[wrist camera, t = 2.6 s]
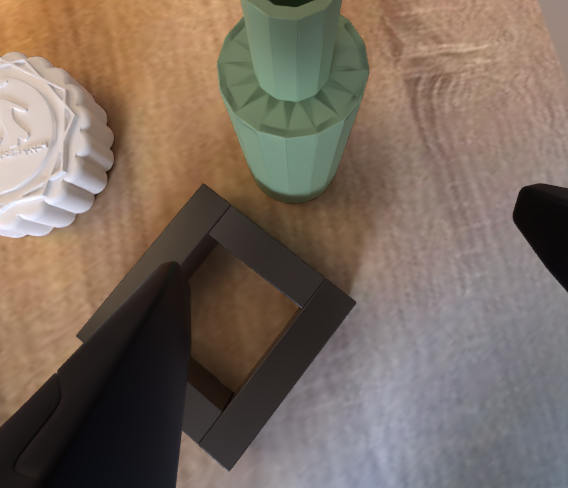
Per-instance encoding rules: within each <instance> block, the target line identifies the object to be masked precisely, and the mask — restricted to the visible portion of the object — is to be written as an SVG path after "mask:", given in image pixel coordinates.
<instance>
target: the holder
mask: <svg viewBox="0 0 568 488" xmlns="http://www.w3.org/2000/svg"><path fill="white" fill-rule="evenodd" d="M218 242H219V243H220V244H221V245H223V246H224V247H225V248H226V249H228V250H229V251H230V252H231V253H233V254H234V255H235V256H236V257H238V258H239V259H240V260H241V261H243V262H244V263H245V264H246V265H248V266H249V267H250V268H251V269H253V270H254V271H255V272H256V273H258V274H259V275H260V276H261V277H263V278H264V279H265V280H266V281H268V282H269V283H270V284H271V285H273V286H274V287H275V288H276V289H278V290H279V291H280V292H282V293H283V294H284V295H285V296H287V297H288V298H289V299H290V300H292V301H293V302H294V303H295V304H297V305H298V306H299V307H300V308H299V309H298V311H297V312H296V313H295V315H294V316H293V317H292V318H291V320H290V321H289V322H288V324H287V325H286V326H285V328H284V329H283V330H282V331H281V333H280V334H279V335H278V337H277V338H276V339H275V341H274V342H273V343H272V344H271V346H270V347H269V348H268V350H267V351H266V352H265V353H264V355H263V356H262V357H261V359H260V360H259V361H258V363H257V364H256V365H255V366H254V368H253V369H252V370H251V372H250V373H249V374H248V376H247V377H246V378H245V379H244V381H243V382H242V383H241V385H240V386H239V387H238V389H237V390H236V391H235V392H234V394H233V392H231V391H230V390H229V389H228V388H227V387H226V386H224V385H223V384H222V383H221V382H220V381H219V380H217V379H216V378H215V377H214V376H213V375H212V374H210V373H209V372H208V371H207V370H206V369H205V368H203V367H202V366H201V365H200V364H199V363H198V362H196V361H195V360H194V359H193V358H192V357H191V356H190V359H189V368H188V378H187V387H186V396H185V406H184V415H183V425H182V431H183V432H184V433H185V434H186V435H188V436H189V437H190V438H191V439H192V440H193V441H194V442H195V443H197V444H198V443H199V446H200V447H201V448H202V449H203V450H204V451H206V452H207V453H208V454H209V455H210V456H211V457H212V458H213V459H214V460H216V461H217V462H218V463H219V464H220V465H221V466H222V467H223V468H225V469H226V470H227V471H228V472H229V471H230V470H231V469H232V468H233V466H234V465H235V464H236V462H237V461H238V460H239V458H240V457H241V456H242V454H243V453H244V452H245V450H246V449H247V448H248V446H249V445H250V444H251V442H252V441H253V440H254V438H255V437H256V436H257V434H258V433H259V432H260V430H261V429H262V428H263V426H264V425H265V424H266V422H267V421H268V420H269V418H270V417H271V416H272V414H273V413H274V412H275V411H276V409H277V408H278V407H279V405H280V404H281V403H282V401H283V400H284V399H285V397H286V396H287V395H288V393H289V392H290V391H291V389H292V388H293V387H294V385H295V384H296V383H297V381H298V380H299V379H300V377H301V376H302V375H303V373H304V372H305V371H306V369H307V368H308V367H309V365H310V364H311V363H312V361H313V360H314V359H315V357H316V356H317V355H318V353H319V352H320V351H321V349H322V348H323V347H324V345H325V344H326V343H327V341H328V340H329V339H330V337H331V336H332V335H333V334H334V332H335V331H336V330H337V328H338V327H339V326H340V324H341V323H342V322H343V320H344V319H345V318H346V316H347V315H348V314H349V312H350V311H351V310H352V308H353V307H354V306H355V304H356V301H354V300H353V299H352V298H351V297H349V296H348V295H347V294H345V293H344V292H343V291H342V290H340V289H339V288H338V287H336V286H335V285H334V284H333V283H331V282H330V281H329V280H327V279H325V277H324V276H322V275H321V274H320V273H318V272H317V271H316V270H315V269H313V268H312V267H311V266H309V265H308V264H307V263H306V262H304V261H303V260H302V259H300V258H299V257H298V256H297V255H295V254H294V253H293V252H291V251H290V250H289V249H288V248H286V247H285V246H284V245H282V244H281V243H280V242H279V241H277V240H276V239H275V238H273V237H272V236H271V235H270V234H268V233H267V232H266V231H264V230H263V229H262V228H261V227H259V226H258V225H257V224H255V223H254V222H253V221H252V220H250V219H249V218H248V217H246V216H245V215H244V214H243V213H241V212H240V211H239V210H237V209H236V208H235V207H234V206H232V205H231V204H230V203H228V202H227V201H226V200H225V199H223V198H222V197H221V196H219V195H218V194H217V193H216V192H214V191H213V190H212V189H210V188H209V187H208V186H207V185H205V184H202V185H201V186H200V188H199V189H198V190H197V191H196V192H195V194H194V195H193V196H192V197H191V198H190V200H189V201H188V202H187V203H186V204H185V206H184V207H183V208H182V209H181V210H180V212H179V213H178V214H177V215H176V216H175V218H174V219H173V220H172V221H171V222H170V224H169V225H168V226H167V227H166V228H165V230H164V231H163V232H162V233H161V234H160V236H159V237H158V238H157V239H156V240H155V242H154V243H153V244H152V245H151V246H150V248H149V249H148V250H147V251H146V252H145V254H144V255H143V256H142V257H141V258H140V259H139V261H138V262H137V263H136V264H135V265H134V267H133V268H132V269H131V270H130V271H129V273H128V274H127V275H126V276H125V277H124V279H123V280H122V281H121V282H120V283H119V285H118V286H117V287H116V288H115V289H114V291H113V292H112V293H111V294H110V295H109V297H108V298H107V299H106V300H105V301H104V303H103V304H102V305H101V306H100V307H99V309H98V310H97V311H96V312H95V313H94V315H93V316H92V317H91V318H90V319H89V321H88V322H87V323H86V324H85V325H84V327H83V328H82V329H81V330H80V331H79V333H78V334H77V335H76V337H78V338H79V339H80V340H81V341H82V342H83V343H84V342H85V341H86V340H87V339H88V338H89V337H90V336H91V335H92V334H93V333H94V332H95V331H96V330H97V329H98V328H99V327H100V326H101V325H102V324H103V323H104V322H105V321H106V320H107V318H108V317H109V316H110V315H111V314H112V313H113V312H114V311H115V310H116V309H117V308H118V307H119V306H120V305H121V304H122V303H123V302H124V301H125V300H126V299H127V298H128V297H129V296H130V295H131V294H132V293H133V292H134V291H135V290H136V288H137V287H138V286H139V285H140V284H141V283H142V282H143V281H144V280H145V279H146V278H147V277H148V276H149V275H150V274H151V273H152V272H153V271H154V270H155V269H156V268H157V267H158V266H159V265H160V264H162V263H166V262H171V261H176V262H178V263H179V265H180V267H181V269H182V271H183V273H184V275H185V277H186V279H187V280H188V279H189V278H190V277H191V276H192V274H193V273H194V272H195V271H196V269H197V268H198V267H199V266H200V265H201V263H202V262H203V261H204V260H205V258H206V257H207V256H208V255H209V253H210V252H211V251H212V250H213V249H214V247H215V246H216V245H217V244H218Z"/></svg>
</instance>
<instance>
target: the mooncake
mask: <svg viewBox="0 0 568 488" xmlns="http://www.w3.org/2000/svg"><path fill="white" fill-rule="evenodd" d="M106 124H107V115H106V113H105V111H104V110H103V109H102V108H101V107H100V106H99V105H98V104H97V103H96V102H95V101H94V98H93V96H92V95H91V94H90V93H89V92H88V91H87V90H86V89H85V88H84V87H83V86H82V85H80V84H79V83H78V82H77V81H76V80H75V79H74V78H73V77H72V76H71V75H70V74H69V73H68V72H67V71H65V70H64V69H61V68H56V67H55V66H54V65H53V64H52V63H50V62H49V61H48V60H47V59H45V58H43V57H39V56H34V57H30V58H28V57H27V56H26V55H24V54H23V53H20V52H9V53H7V54H5V55H4V56H2V57H1V56H0V235H1V236H7V237H13V238H20V237H23V236H25V235H27V234H28V235H33V236H43V235H46V234H48V233H49V232H51V231H52V229H53V228H54V227H58V228H62V227H66V226H68V225H70V224H71V223H72V222H73V221H74V220H75V218H76V214H77V213H83V212H86V211H87V210H89V209H90V208H91V207H92V205H93V203H94V198H95V197H94V194H97V193H99V192H101V191H102V190H103V189H104V188H105V187H106V184H107V175H106V172H107V171H108V170H109V169H110V168H111V167H112V165H113V163H114V155H113V153H112V151H111V150H110V149H109V148H110V147H111V146H112V144H113V142H114V135H113V132H112V130H111V129H110V128H109V127H108V126H107V125H106Z"/></svg>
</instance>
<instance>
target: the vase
mask: <svg viewBox="0 0 568 488" xmlns="http://www.w3.org/2000/svg"><path fill="white" fill-rule="evenodd" d="M341 2H342V0H241V4H242V10H243V15H244V16H243V17H242V19H241V20H240V21H239V22H238V23H237V24H236V25H235V27H234V28H233V29H232V30H231V31H230V32H229V34H228V35H227V36H226V38H225V40H224V43H223V46H222V49H221V52H220V55H219V58H218V61H217V70H218V80H219V90H220V93H221V95H222V98H223V101H224V103H225V106H226V108H227V111H228V114H229V116H230V119H231V122H232V124H233V127H234V130H235V132H236V135H237V137H238V140H239V143H240V145H241V148H242V151H243V153H244V156H245V159H246V161H247V164H248V166H249V169H250V172H251V174H252V176H253V178H254V180H255V182H256V183H257V185H258V186H259V188H260V189H261V190H262V191H263V192H264V193H265V194H267V195H268V196H270V197H271V198H273V199H275V200H277V201H280V202H285V203H302V202H306V201H309V200H311V199H314V198H315V197H317V196H319V195H320V194H321V193H322V192H324V191H325V189H326V188H327V187H328V186H329V184H330V183H331V181H332V179H333V178H334V176H335V173H336V170H337V168H338V165H339V162H340V159H341V156H342V154H343V151H344V148H345V145H346V142H347V140H348V137H349V134H350V131H351V128H352V126H353V123H354V120H355V117H356V114H357V112H358V109H359V106H360V103H361V100H362V98H363V94H364V90H365V87H366V83H367V79H368V75H369V64H368V58H367V53H366V47H365V43H364V41H363V40H362V38H361V37H360V35H359V34H358V32H357V31H356V29H355V28H354V26H353V25H352V23H351V22H350V21H349V20H348V19H347V18H345V17H344V16H342V15H341V14H340V8H341Z"/></svg>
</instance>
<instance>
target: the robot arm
mask: <svg viewBox="0 0 568 488" xmlns="http://www.w3.org/2000/svg"><path fill="white" fill-rule="evenodd" d="M513 221H514V223H515V225H516V226H517V227H518V229H519V230H520V232H521V233H522V234H523V236H524V237H525V239H526V240H527V241H528V243H529V244H530V246H531V247H532V249H533V250H534V251H535V253H536V254H537V256H538V257H539V258H540V260H541V261H542V263H543V264H544V265H545V267H546V268H547V269H548V270H549V271H550V273H551V274H552V275H553V276H554V277H555V278H556V280H557V281H558V282H559V283H560V284H561V285H562V286H563V288H564V289H565V290H566V291H567V292H568V188H563V187H558V186H553V185H548V184H543V183H538V184H533V185H529V186H525V187H523V188H522V189H521V190H520V192H519V194H518V198H517V201H516V204H515V208H514V211H513ZM190 349H191V304H190V287H189V283H188V281H187V279H186V277H185V275H184V273H183V271H182V269H181V267H180V265H179V263H178V262H176V261H171V262H166V263H162V264H160V265H159V266H158V267H157V268H156V269H155V270H154V271H153V272H152V273H151V274H150V275H149V276H148V277H147V278H146V279H145V280H144V281H143V282H142V283H141V284H140V285H139V286H138V287H137V288H136V290H135V291H134V292H133V293H132V294H131V295H130V296H129V297H128V298H127V299H126V300H125V301H124V302H123V303H122V304H121V305H120V306H119V307H118V308H117V309H116V310H115V311H114V312H113V313H112V314H111V315H110V316H109V317H108V318H107V320H106V321H105V322H104V323H103V324H102V325H101V326H100V327H99V328H98V329H97V330H96V331H95V332H94V333H93V334H92V335H91V336H90V337H89V338H88V339H87V340H86V341H85V342H84V343H83V344H82V345H81V346H80V347H79V348H78V349H77V351H76V352H75V353H74V354H73V355H72V356H71V357H70V358H69V359H68V360H67V361H66V362H65V363H64V364H63V365H62V366H61V367H60V368H59V369H58V371H57V373H54V374H53V375H52V376H51V377H50V378H49V379H48V380H47V381H46V383H45V384H44V385H43V386H42V387H41V388H40V389H39V390H38V391H37V392H36V393H35V394H34V395H33V396H32V397H31V398H30V399H29V400H28V401H27V402H26V403H25V404H24V405H23V406H22V407H21V408H20V409H19V410H18V411H17V412H16V413H15V414H14V415H13V416H12V417H10V418H9V419H8V420H7V421H6V422H5V423H4V424H3V425H2V426H1V427H0V488H176V481H177V471H178V462H179V453H180V443H181V434H182V425H183V415H184V406H185V396H186V387H187V378H188V368H189V359H190Z"/></svg>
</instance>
